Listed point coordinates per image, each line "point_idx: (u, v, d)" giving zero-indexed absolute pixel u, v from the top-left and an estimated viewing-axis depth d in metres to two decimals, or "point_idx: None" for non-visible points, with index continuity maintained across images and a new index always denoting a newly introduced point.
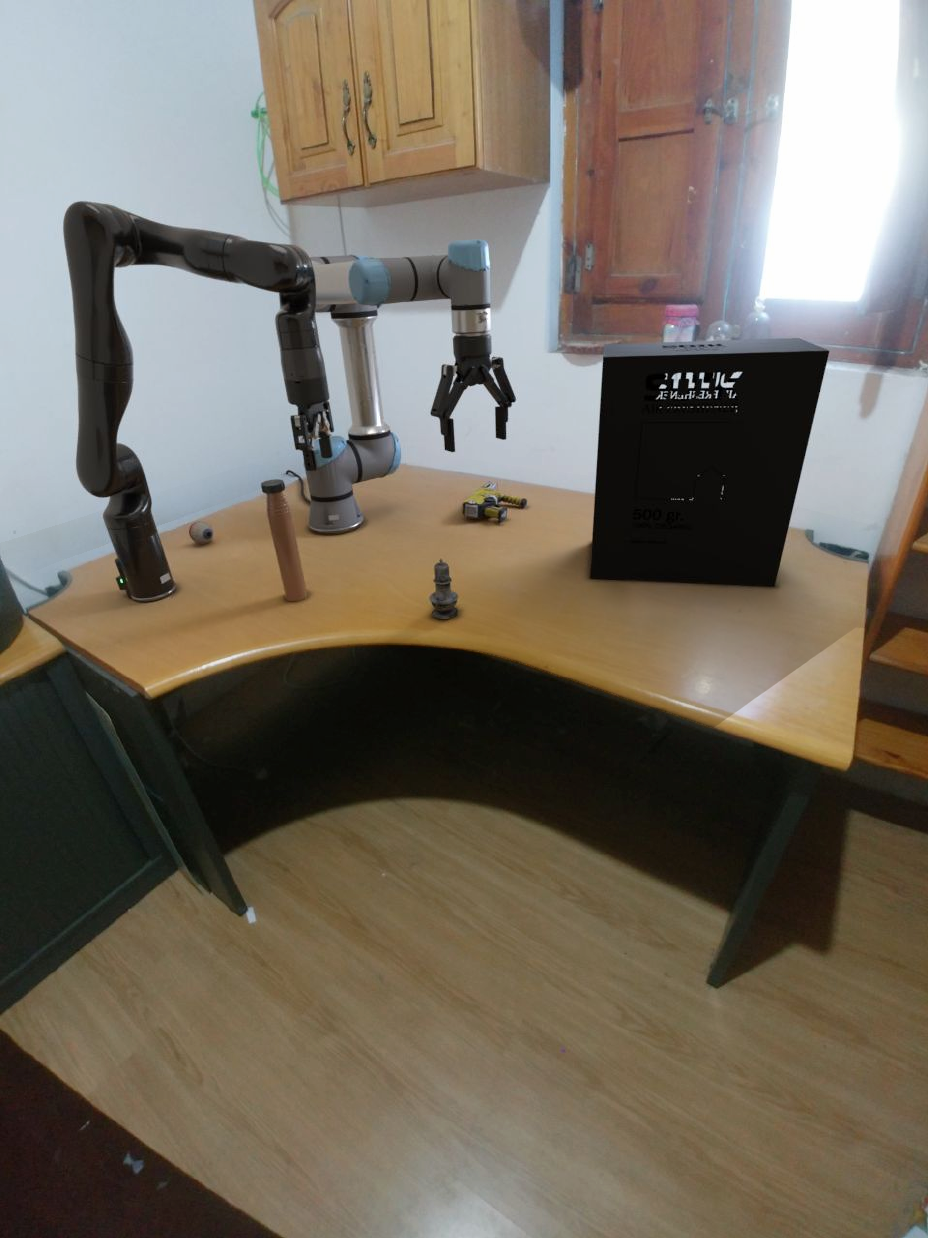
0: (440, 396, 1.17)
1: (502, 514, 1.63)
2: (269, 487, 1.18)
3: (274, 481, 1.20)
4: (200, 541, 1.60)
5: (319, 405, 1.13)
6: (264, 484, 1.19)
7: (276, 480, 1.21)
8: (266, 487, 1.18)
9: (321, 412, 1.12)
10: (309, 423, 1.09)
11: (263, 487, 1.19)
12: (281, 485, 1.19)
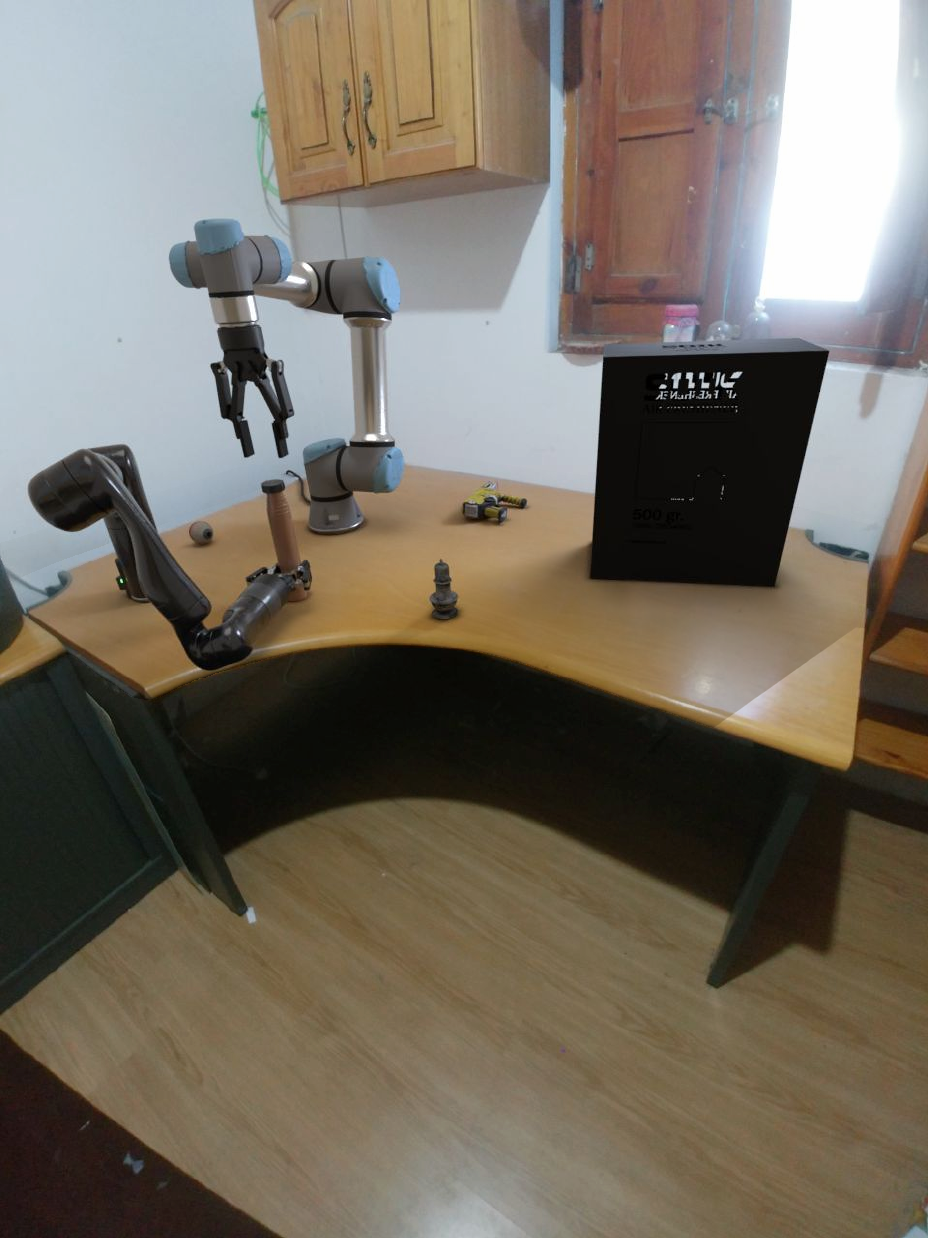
0: (287, 395, 1.10)
1: (502, 514, 1.63)
2: (269, 487, 1.18)
3: (274, 481, 1.20)
4: (200, 541, 1.60)
5: None
6: (264, 484, 1.19)
7: (276, 480, 1.21)
8: (266, 487, 1.18)
9: None
10: None
11: (263, 487, 1.19)
12: (281, 485, 1.19)
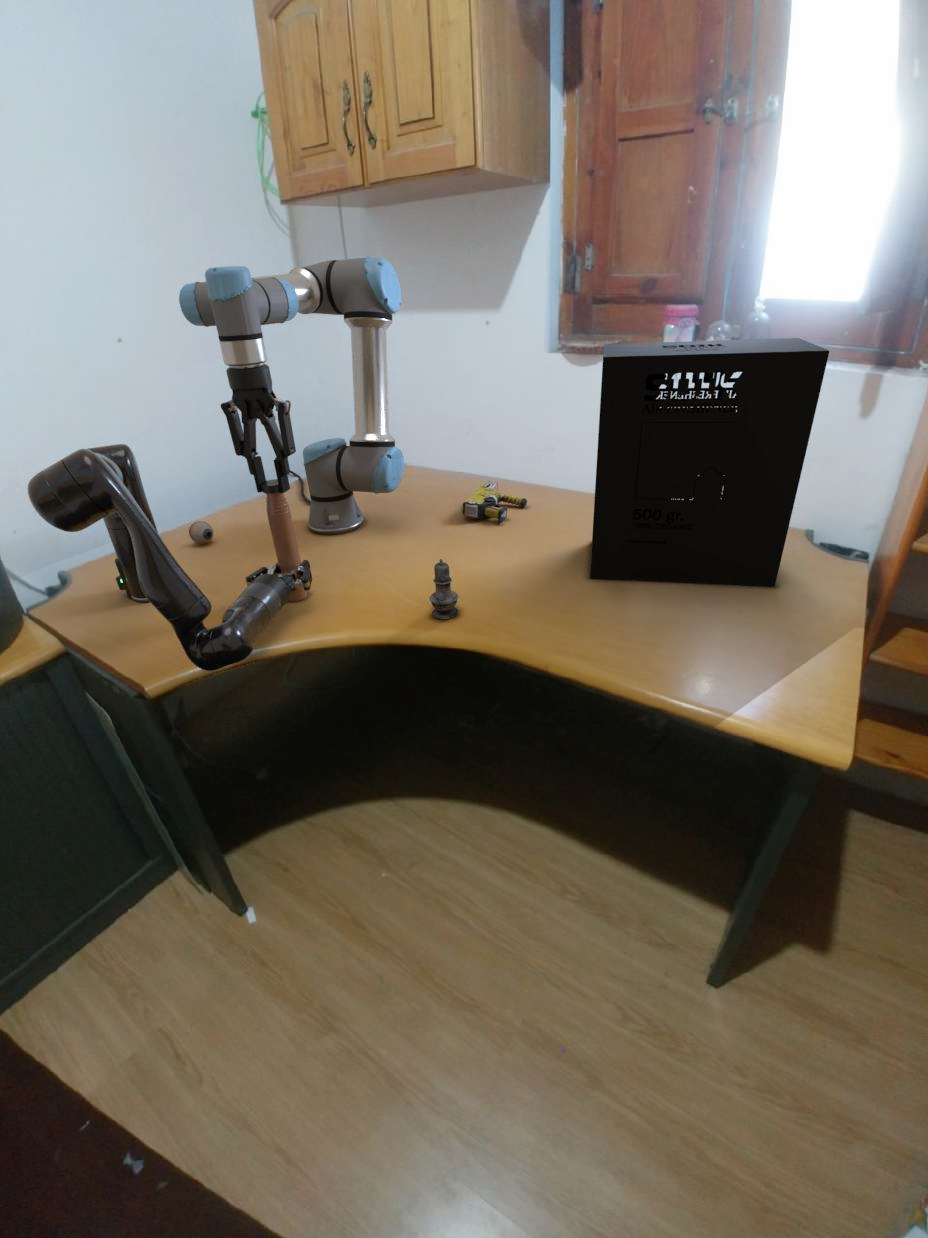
0: (290, 434, 1.14)
1: (502, 514, 1.63)
2: (269, 487, 1.18)
3: (274, 481, 1.20)
4: (200, 541, 1.60)
5: None
6: (264, 484, 1.19)
7: (276, 480, 1.21)
8: (266, 487, 1.18)
9: None
10: None
11: (263, 487, 1.19)
12: None
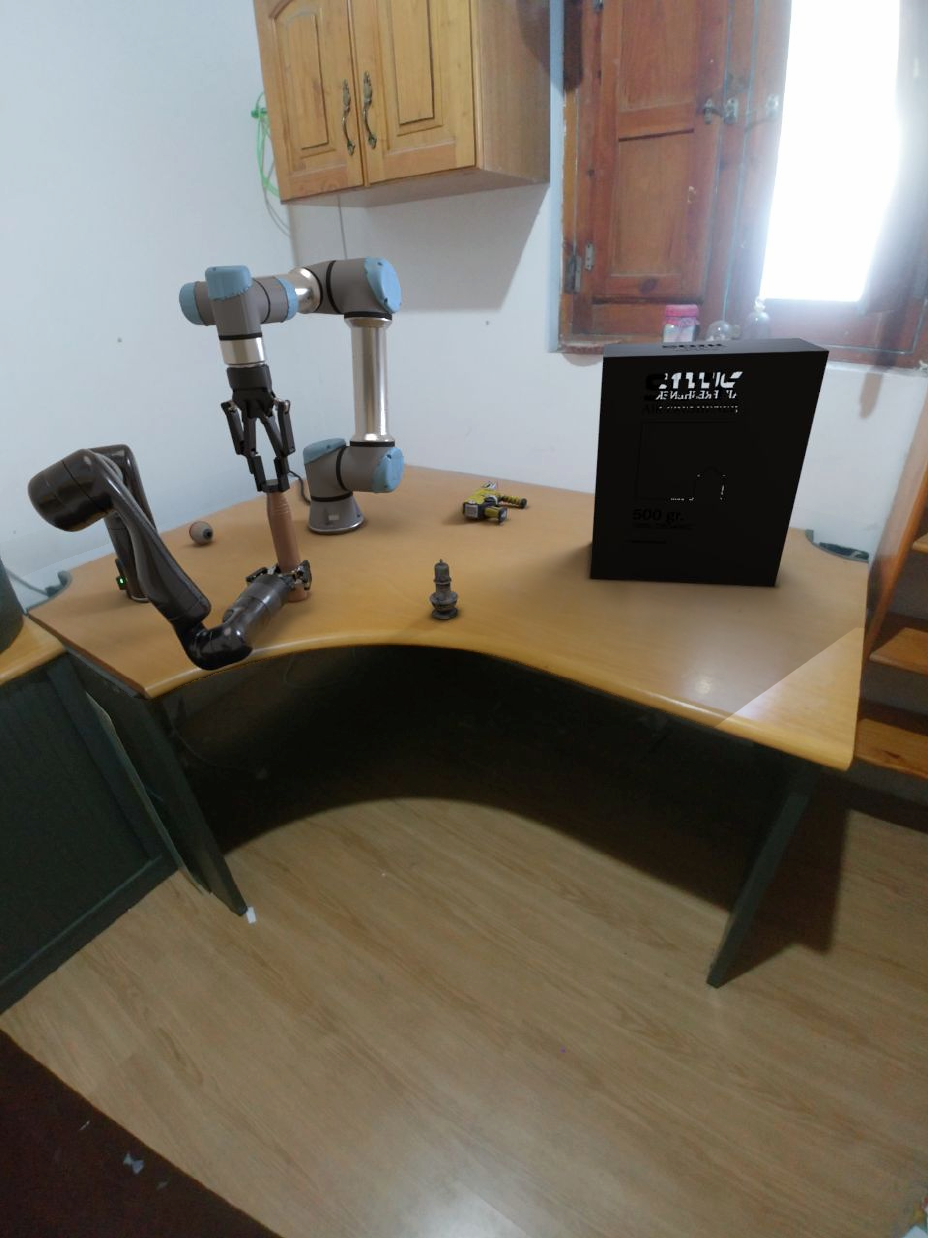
0: (290, 433, 1.14)
1: (502, 514, 1.63)
2: None
3: (268, 482, 1.20)
4: (200, 541, 1.60)
5: None
6: None
7: (264, 483, 1.19)
8: None
9: None
10: None
11: None
12: None
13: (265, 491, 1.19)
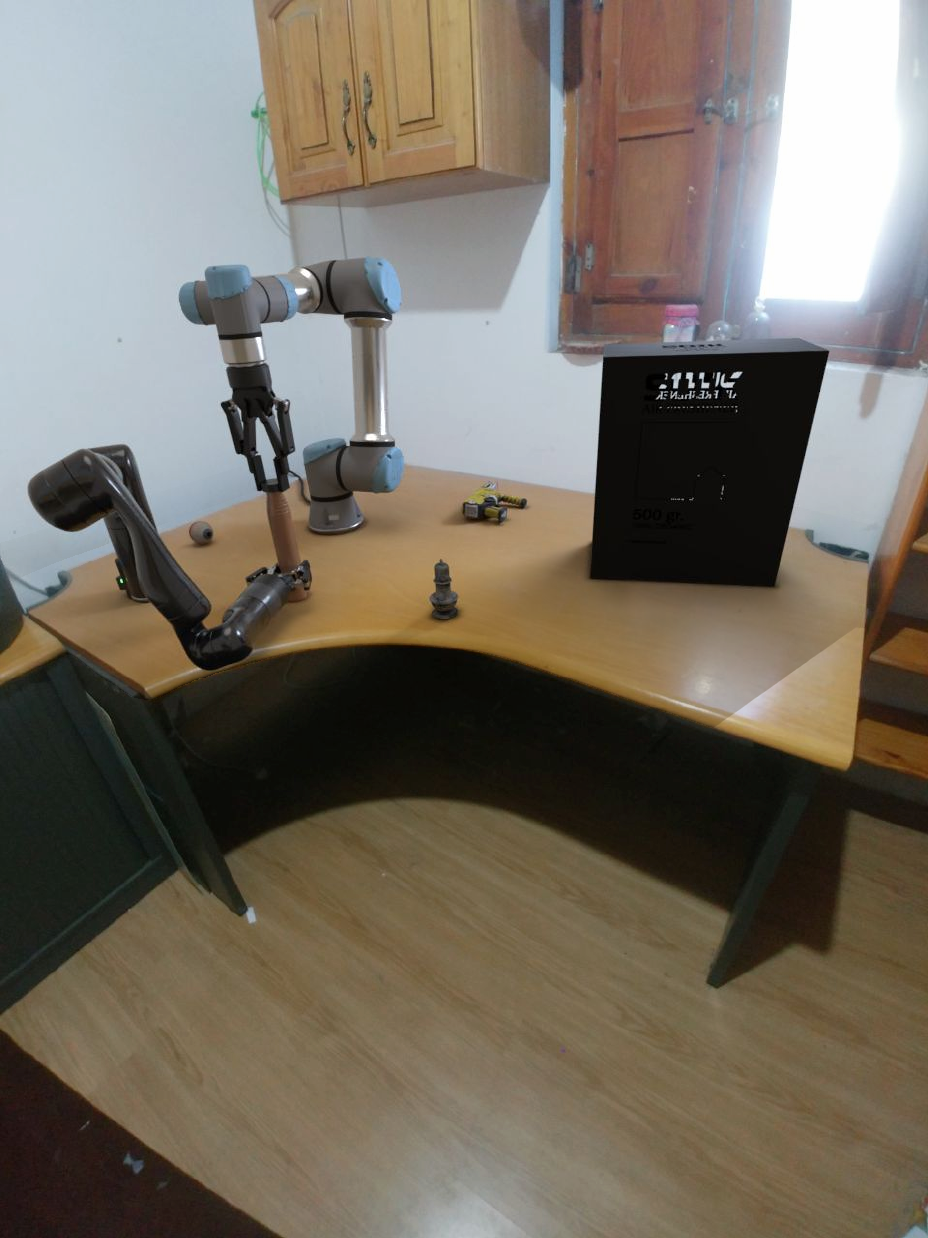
0: (290, 433, 1.14)
1: (502, 514, 1.63)
2: None
3: (273, 482, 1.19)
4: (200, 541, 1.60)
5: None
6: (272, 479, 1.21)
7: (276, 482, 1.19)
8: None
9: None
10: None
11: None
12: (262, 486, 1.19)
13: None
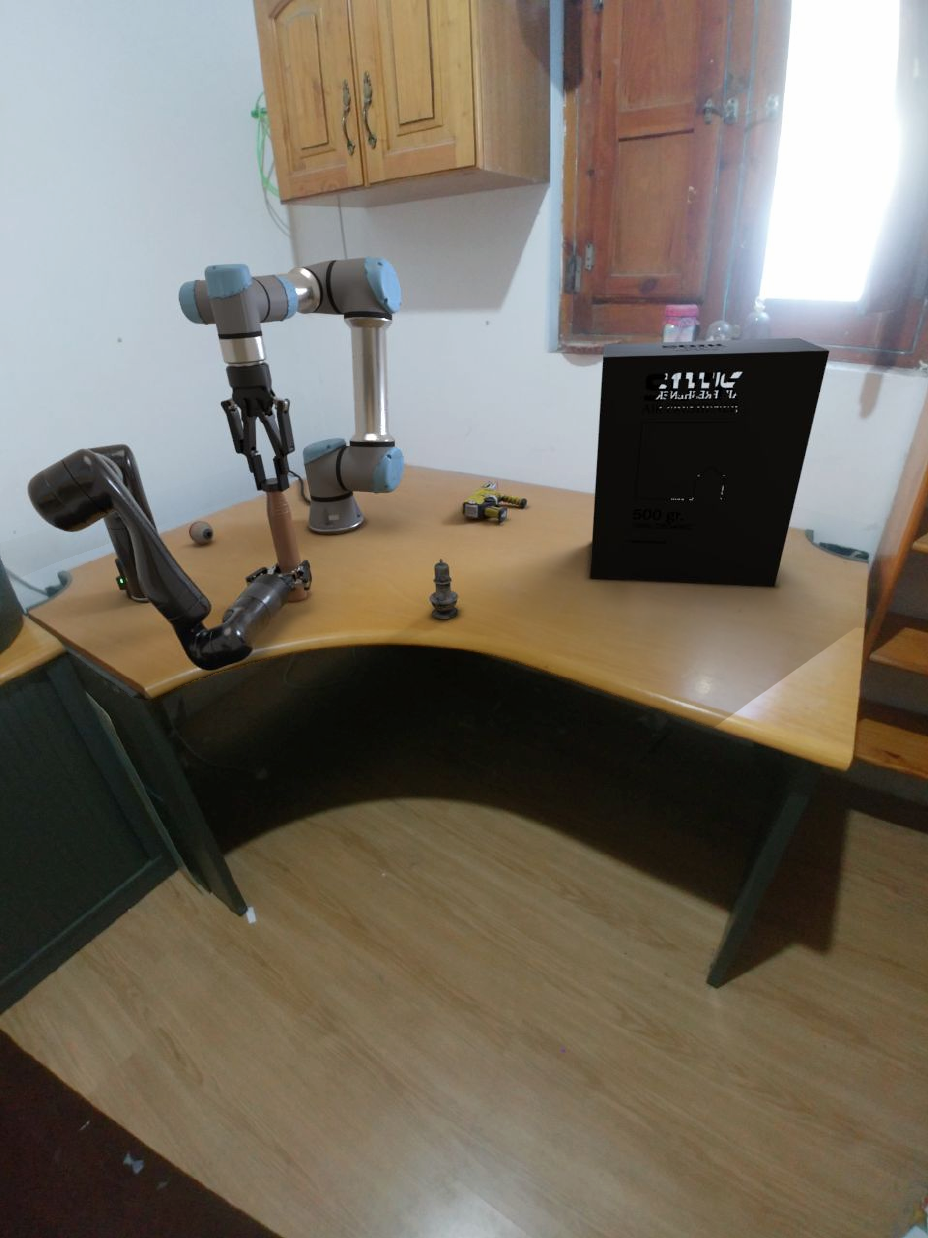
0: (290, 432, 1.14)
1: (502, 514, 1.63)
2: (270, 485, 1.18)
3: (273, 479, 1.20)
4: (200, 541, 1.60)
5: None
6: (264, 483, 1.19)
7: (275, 478, 1.21)
8: (266, 485, 1.18)
9: None
10: None
11: (263, 486, 1.18)
12: None
13: None
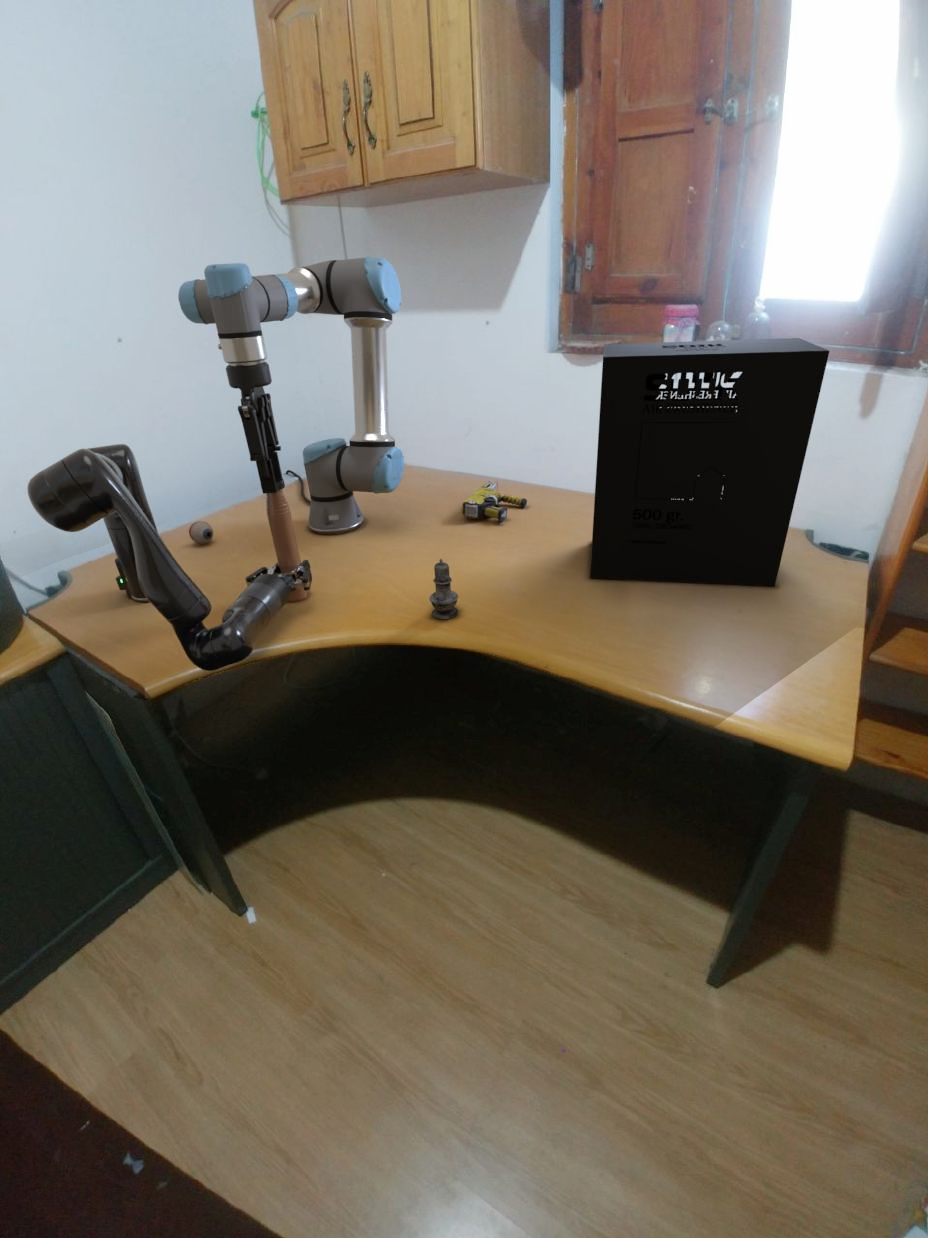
0: None
1: (502, 514, 1.63)
2: None
3: None
4: (200, 541, 1.60)
5: None
6: (277, 481, 1.19)
7: None
8: (283, 481, 1.20)
9: None
10: None
11: (281, 482, 1.19)
12: None
13: None
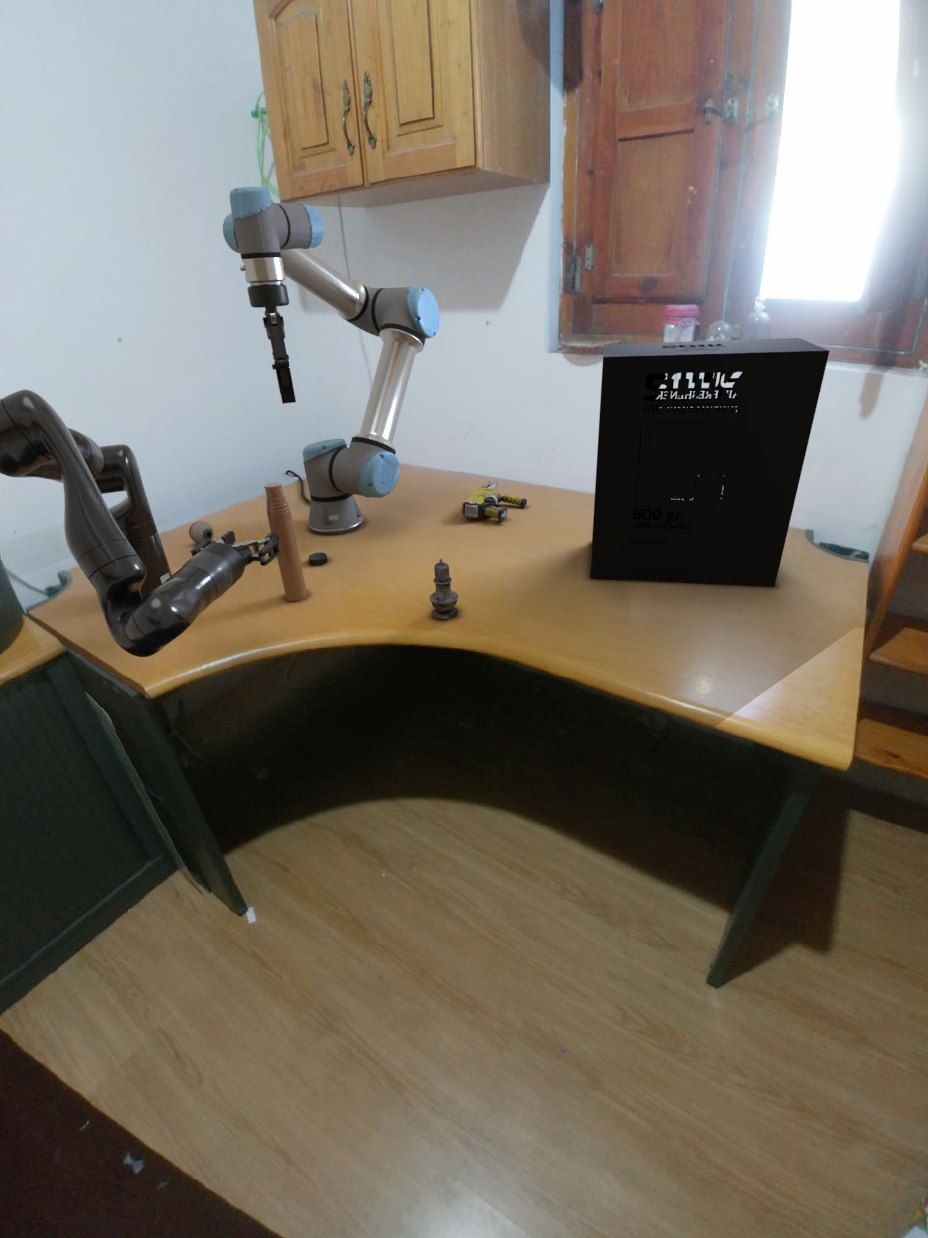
0: None
1: (502, 514, 1.63)
2: None
3: (314, 556, 1.47)
4: (200, 541, 1.60)
5: None
6: (323, 556, 1.47)
7: (311, 557, 1.47)
8: (326, 555, 1.48)
9: None
10: None
11: (326, 557, 1.48)
12: None
13: (313, 564, 1.46)
